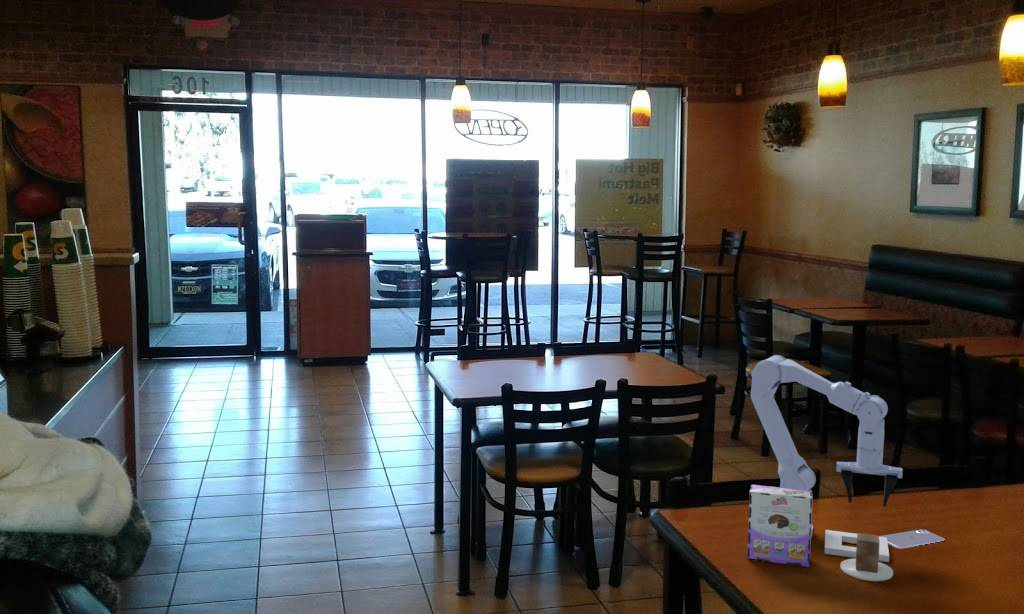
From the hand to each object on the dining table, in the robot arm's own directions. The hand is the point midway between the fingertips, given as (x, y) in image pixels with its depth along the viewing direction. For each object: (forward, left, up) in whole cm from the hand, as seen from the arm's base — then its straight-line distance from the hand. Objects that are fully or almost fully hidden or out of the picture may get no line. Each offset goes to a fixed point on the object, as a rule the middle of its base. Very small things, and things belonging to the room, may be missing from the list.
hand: (867, 503), depth 217 cm
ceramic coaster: (0, -16, -10) cm, 19 cm away
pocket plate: (-2, -3, -10) cm, 11 cm away
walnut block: (0, -16, -10) cm, 19 cm away
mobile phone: (+11, +8, -11) cm, 17 cm away
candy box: (-19, -16, -11) cm, 27 cm away
